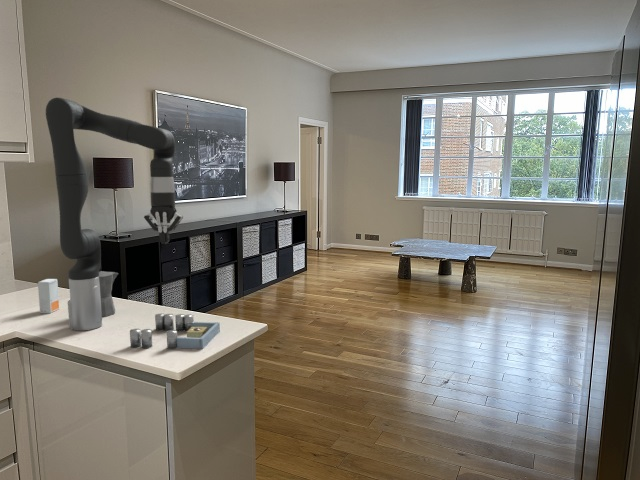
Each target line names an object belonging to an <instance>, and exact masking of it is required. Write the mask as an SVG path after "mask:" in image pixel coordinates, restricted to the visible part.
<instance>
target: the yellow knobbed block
mask: <svg viewBox="0 0 640 480" xmlns="http://www.w3.org/2000/svg"><path fill="white" fill-rule="evenodd" d="M207 331H208V329H207V327H191V328H190V329H189V330H188V331H187V332H186V337H192V338H201V337H202V336H203V335H204V334H205V333H206V332H207Z"/></svg>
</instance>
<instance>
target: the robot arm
mask: <svg viewBox="0 0 640 480" xmlns="http://www.w3.org/2000/svg"><path fill="white" fill-rule="evenodd" d="M45 119H46V123H47V124H46V125H47V128H48V132H49V136H50V137H49V138H50V142H51V147H52V155H53V163H54V173H55V182H56V183H55V184H56V189H57V190H56V191H57V197H58V199H57V200H58V210H59V211H58V212H59V243H60V249H61V252H62V253H63V255H64V256H65V257H66V258H67V259H70V260H75V261H76V262H75V263H74V265H73V266H72V267H70V269H69V270H68V273H67V274H68V287H69V289H68V290H69V297H70V299H69V300H67V311H68V313H67V315H68V327H69V329H71V330H75V331H88V330H89V331H90V330H95V329H98V328H100V327H102V326H103V317H102V312H101V297H100V282H99V270H100V267H102V259H101V258H102V249H101V248H102V246H101V245H102V244H101V239H100V237H99V235H98V233H97V232H96V231H95V230H93V229H89V228H83V229H82V222H81V217H82V216H81V215H82V211H83V207H84V205H85V202H86V200H87V197H88V194H89V179H88V172H87V167H86V165H85V162H84V160H83V158H82V156H81V154H80V152H79V150H78V147H77V145H76V140H75V134H74V133H75V132H74V130H81V131H89V132H90V131H91V132H95V133H100V134H102V135H105V136H107V137H110V138H113V139H116V140H118V141H119V140H120V141H122V142H126V143H130V144H133V145H138V146H142V147H144V148H147V149H151V150H154V151H153V152H154V153H153V158H152V159H151V160H150V163H149V164H150V165H149V167H150V169H149V170H150V172H149V173H150V183H149V185H150V187H149V188H150V191H149V192H150V205H151V207H150V210H149V213H148V214H145V215H144V217H143V218H144V220H145V221H146V222H147V224H148V225H149V226H150V227H151V228H152V230H153V231H156V232H158V235H159V236H158V238H159V243H160V244H161V245H166V244H168V243H169V242H170V232H172V231H175V229H176V228H177V227H178V226H179V224H180V223H181V221H182V220H183V218H184V216H183V215H180V214H179V213H178V212H177V208H176V192H175V191H176V188H175V180H174V166H173V165H174V158H175V151H176V140H175V136H174V134H173V133H172V132H171V131H170V130H168V129H166V128H161V127H156V126H152V125H147V124H144V123H141V122H138V121H135V120H131V119H128V118H124V117H120V116H115V115H110V114H109V115H108V114H104V113H101V112H97V111H95V110H93V109H90V108H88V107H86V106H84V105H81V104H80V103H78V102H76V101H73V100H70V99H67V98H63V97H54V98H51V99H50V100H49V101H48V103H46V106H45ZM173 219H174V220H173ZM172 221H173V222H172Z"/></svg>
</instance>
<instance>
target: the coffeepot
mask: <svg viewBox="0 0 640 480" xmlns="http://www.w3.org/2000/svg"><path fill="white" fill-rule="evenodd" d="M102 267H103V266H101V267H100V270H99V282H100V297H101V312H102V318H104V317H105V318H106V317H111V316H113V315H115V314H116V308H115V304H114V300H113V296H112V291H113V284H114V281H115V279H116V278H117V277H118V275H119V273H118V272H115V271H104V270H103V271H102Z"/></svg>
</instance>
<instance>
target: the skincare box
mask: <svg viewBox="0 0 640 480" xmlns="http://www.w3.org/2000/svg"><path fill="white" fill-rule="evenodd" d="M58 284H59V283H58V278H45V279H43V280H41V281H38V282H37V288H38V289H37V290H38V303H39V313H40V314H51V313H54V312H55V311H58V310H60V299H59V297H60V296H59V285H58Z"/></svg>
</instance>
